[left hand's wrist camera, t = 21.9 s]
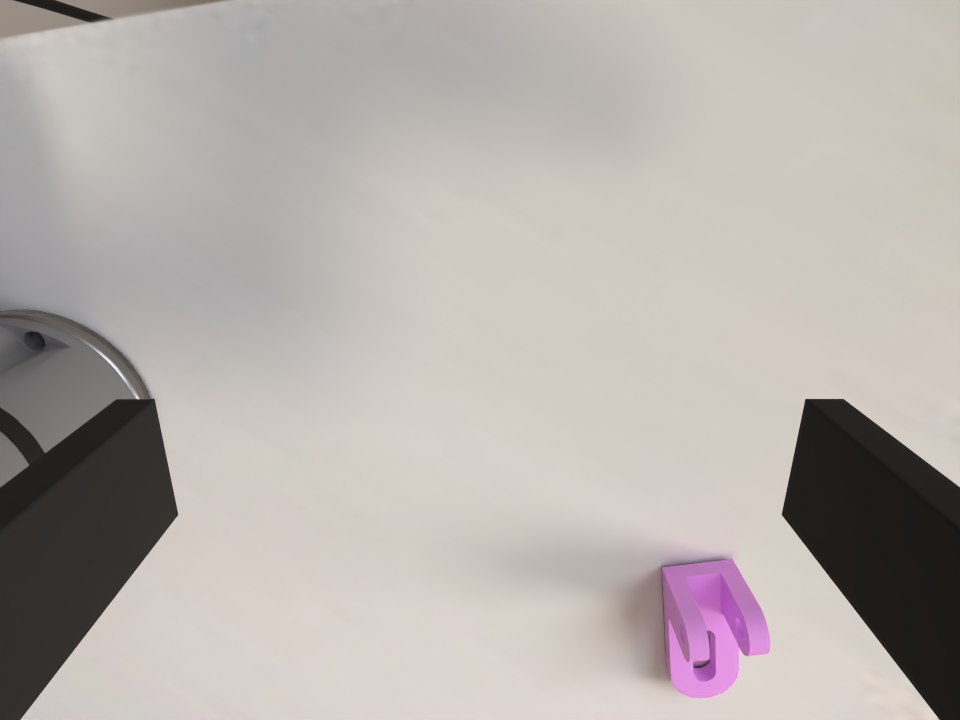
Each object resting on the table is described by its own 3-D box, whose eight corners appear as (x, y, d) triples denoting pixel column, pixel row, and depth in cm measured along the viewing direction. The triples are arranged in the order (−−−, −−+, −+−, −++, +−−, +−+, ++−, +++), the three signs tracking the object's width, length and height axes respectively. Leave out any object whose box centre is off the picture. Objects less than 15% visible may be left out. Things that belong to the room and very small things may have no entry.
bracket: (661, 567, 50) (689, 634, 43) (732, 559, 49) (770, 625, 43) (667, 687, 54) (693, 764, 48) (732, 680, 54) (766, 756, 47)
